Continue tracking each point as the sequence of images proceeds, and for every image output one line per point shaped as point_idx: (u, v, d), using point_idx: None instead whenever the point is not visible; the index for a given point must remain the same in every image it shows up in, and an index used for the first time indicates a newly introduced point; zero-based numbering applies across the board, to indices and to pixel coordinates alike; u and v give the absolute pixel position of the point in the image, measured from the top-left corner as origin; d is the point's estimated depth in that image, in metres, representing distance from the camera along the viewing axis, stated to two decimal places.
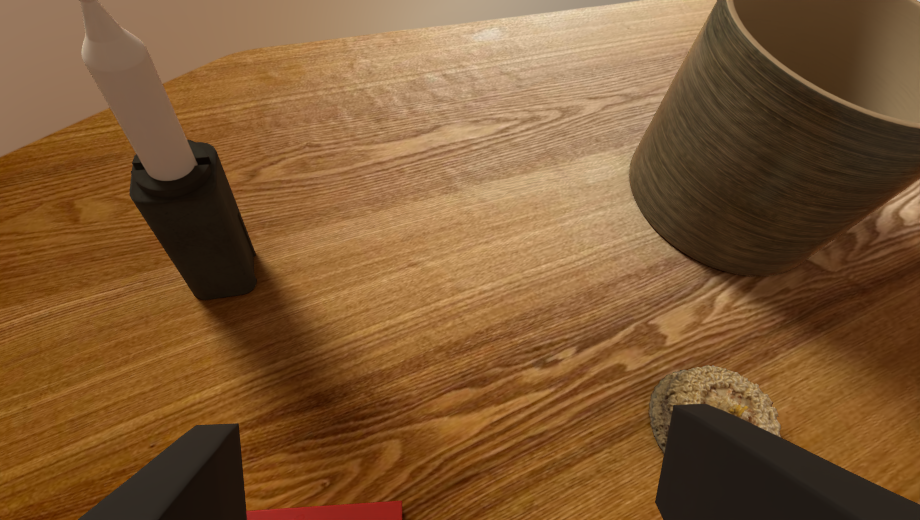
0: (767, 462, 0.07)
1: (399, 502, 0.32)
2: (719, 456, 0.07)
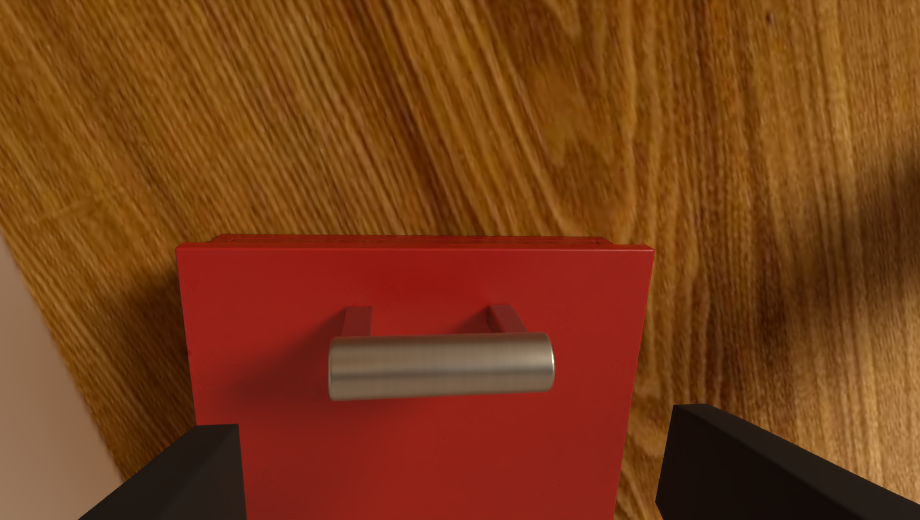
0: (767, 462, 0.07)
1: None
2: (719, 457, 0.07)
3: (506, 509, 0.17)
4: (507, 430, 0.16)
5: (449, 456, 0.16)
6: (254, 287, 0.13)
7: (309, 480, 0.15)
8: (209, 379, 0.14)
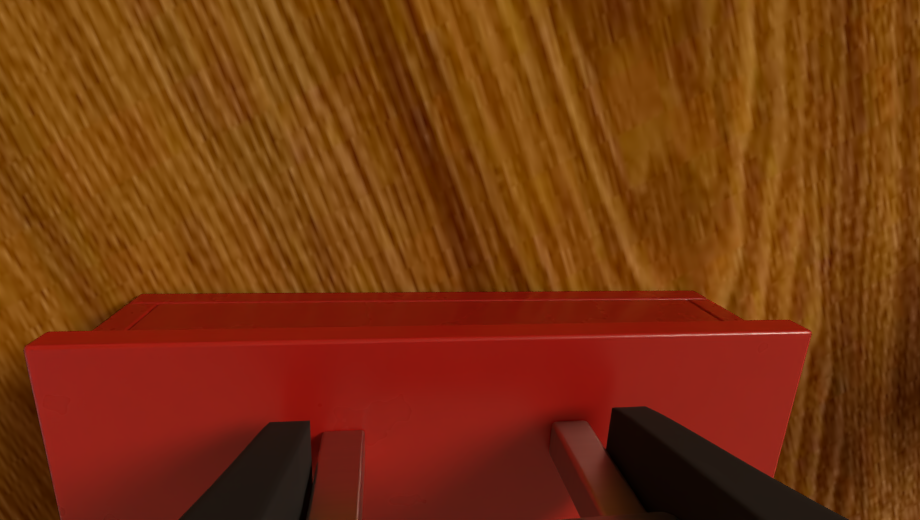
0: (689, 467, 0.06)
1: None
2: (649, 461, 0.07)
3: None
4: None
5: None
6: (166, 407, 0.08)
7: None
8: None
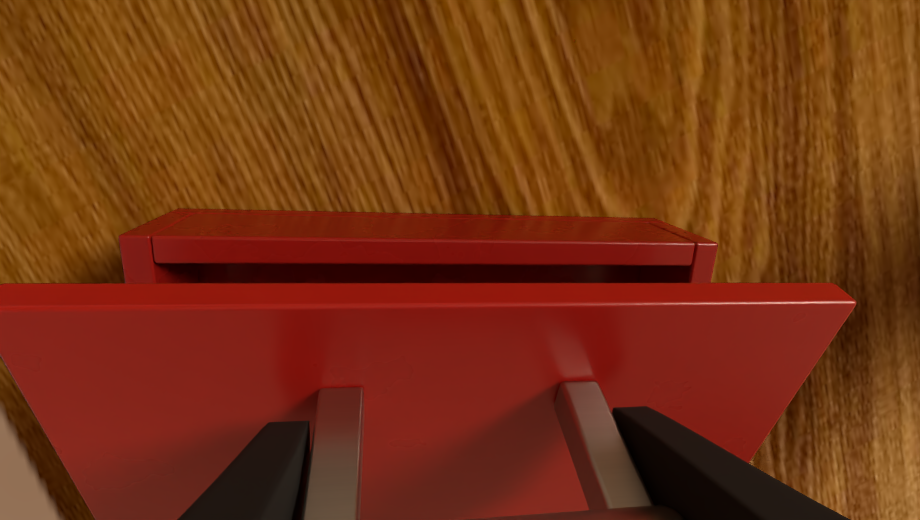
0: (690, 467, 0.06)
1: None
2: (650, 461, 0.07)
3: None
4: None
5: None
6: (149, 366, 0.07)
7: None
8: (103, 479, 0.09)
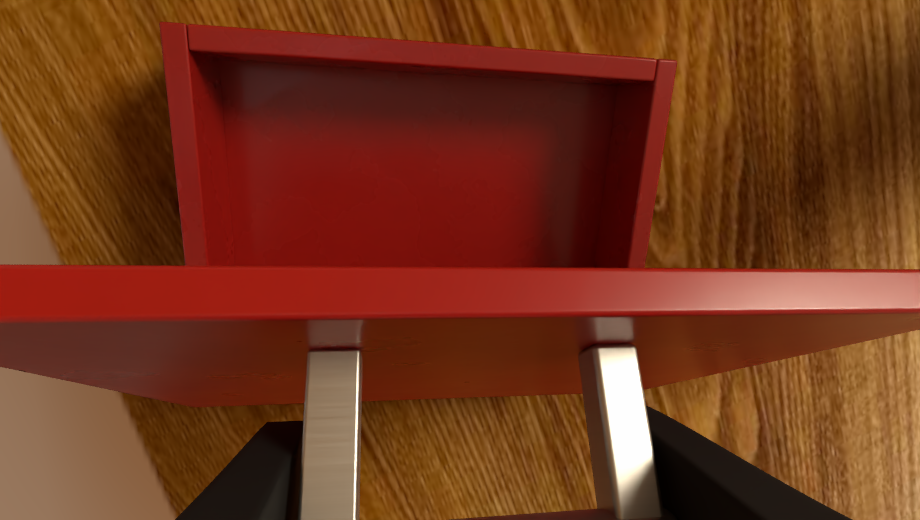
0: (691, 467, 0.06)
1: None
2: None
3: (526, 392, 0.14)
4: (555, 378, 0.11)
5: (470, 385, 0.12)
6: (86, 344, 0.06)
7: (286, 394, 0.12)
8: (86, 377, 0.08)
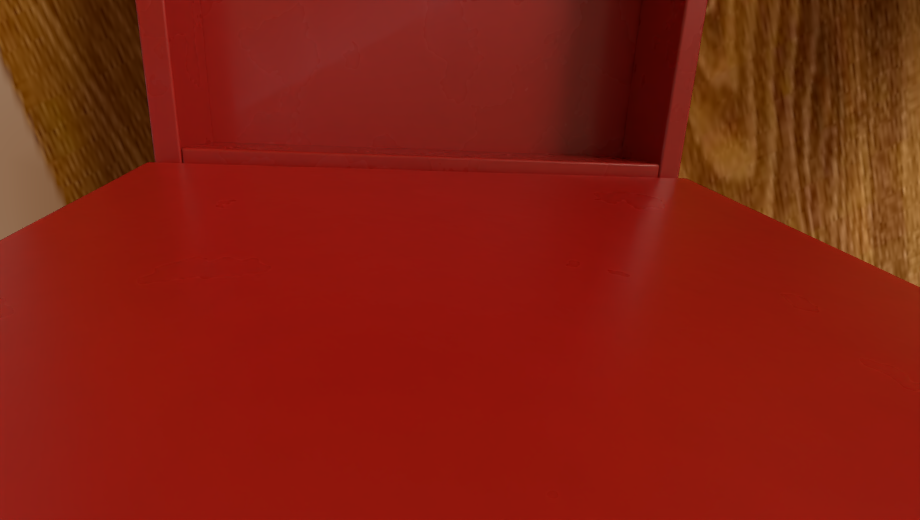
0: None
1: None
2: None
3: None
4: None
5: None
6: None
7: None
8: None
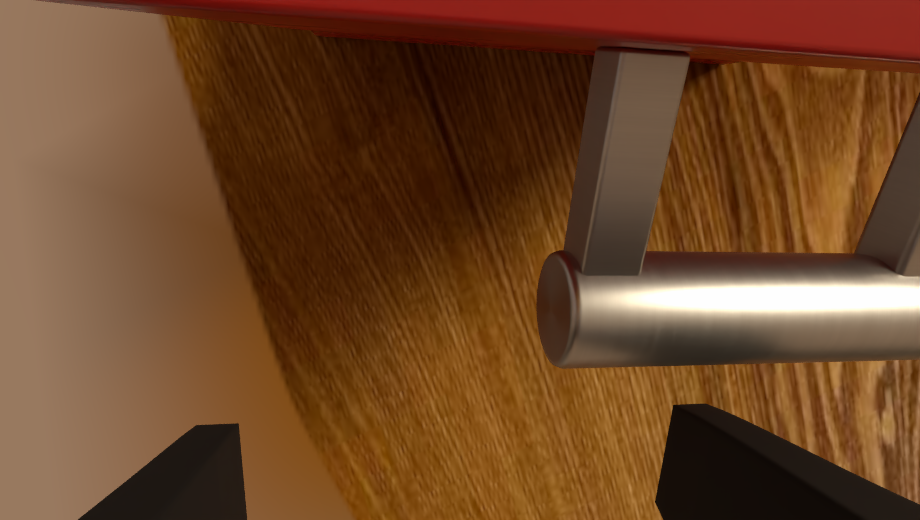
0: (767, 462, 0.07)
1: (799, 65, 0.13)
2: (719, 457, 0.07)
3: (691, 57, 0.12)
4: None
5: None
6: (351, 25, 0.04)
7: (435, 38, 0.09)
8: (249, 23, 0.06)
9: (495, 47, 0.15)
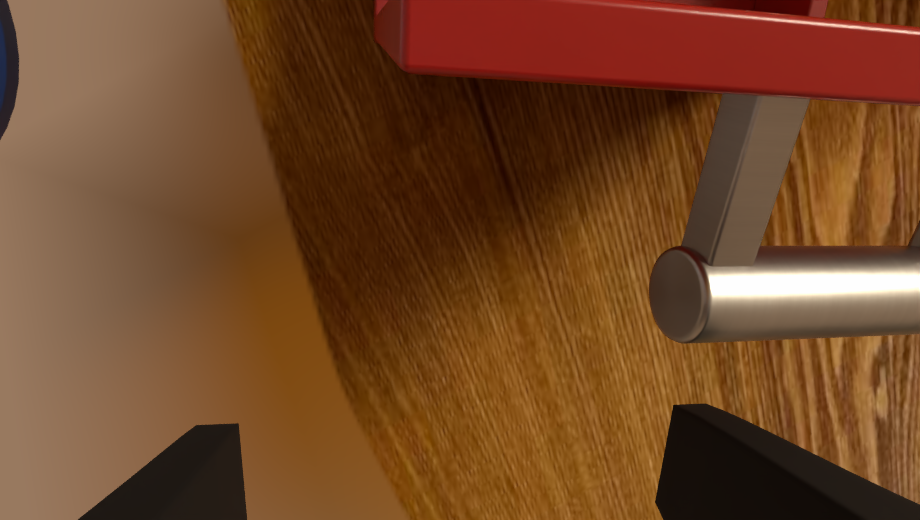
0: (767, 462, 0.07)
1: None
2: (719, 457, 0.07)
3: None
4: None
5: None
6: None
7: None
8: None
9: None
